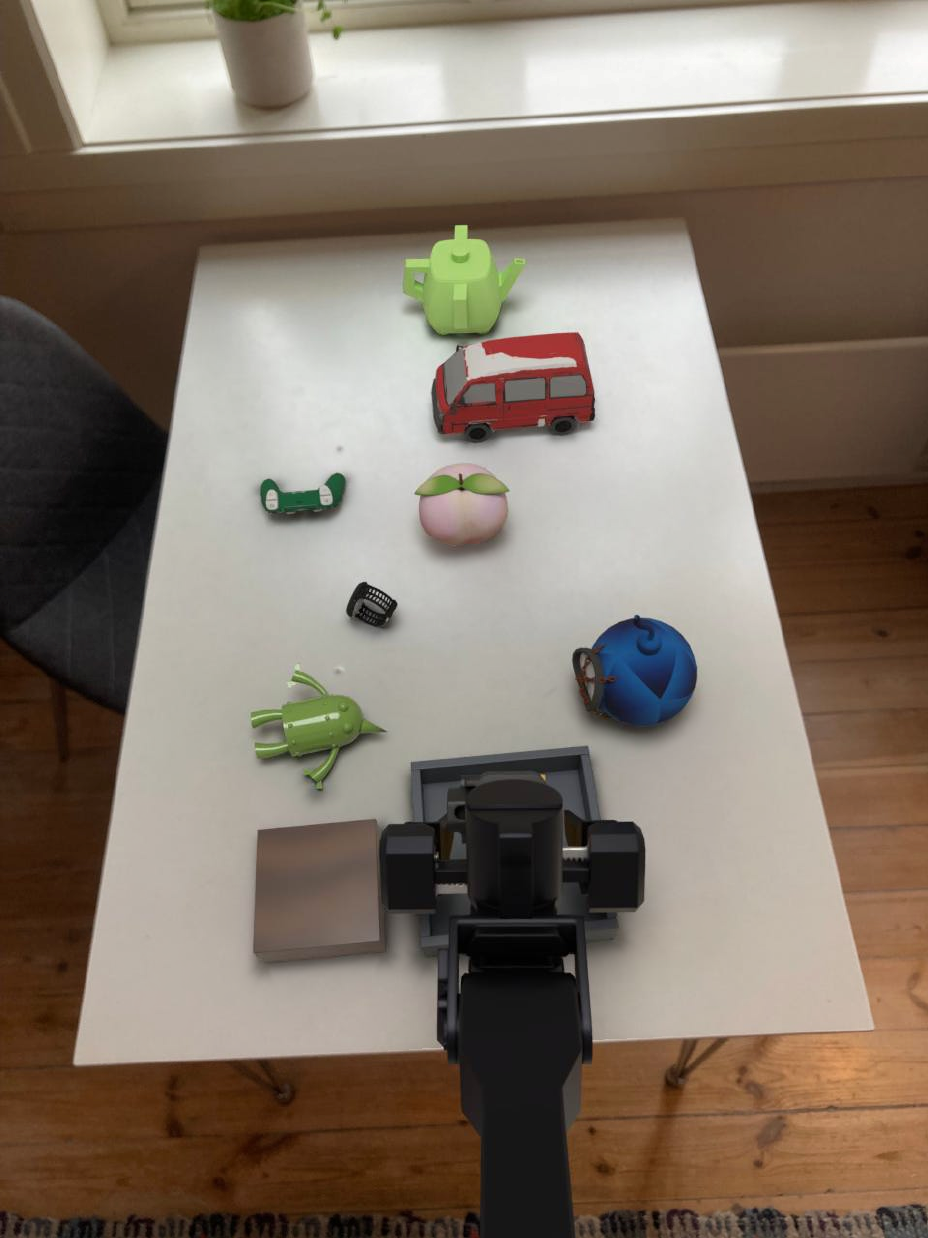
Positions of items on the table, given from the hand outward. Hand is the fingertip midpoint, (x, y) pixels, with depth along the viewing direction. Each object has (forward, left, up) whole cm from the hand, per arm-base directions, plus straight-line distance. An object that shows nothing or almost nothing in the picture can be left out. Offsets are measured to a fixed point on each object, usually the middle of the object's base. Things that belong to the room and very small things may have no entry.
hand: (509, 815), depth 73 cm
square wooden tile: (-3, +16, -7) cm, 18 cm away
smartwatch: (+24, +11, -7) cm, 27 cm away
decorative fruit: (+34, +1, -7) cm, 35 cm away
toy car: (+50, -6, -7) cm, 51 cm away
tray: (-1, 0, -7) cm, 7 cm away
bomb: (+13, -13, -7) cm, 20 cm away
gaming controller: (+40, +18, -7) cm, 44 cm away
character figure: (+12, +16, -7) cm, 21 cm away
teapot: (+68, -2, -7) cm, 68 cm away
